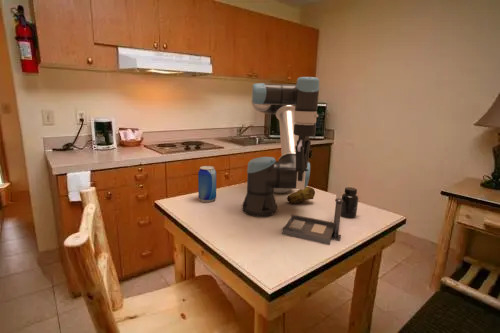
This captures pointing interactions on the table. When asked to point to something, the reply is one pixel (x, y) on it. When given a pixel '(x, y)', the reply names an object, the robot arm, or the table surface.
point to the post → (337, 220)
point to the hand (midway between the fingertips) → (300, 188)
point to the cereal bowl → (281, 190)
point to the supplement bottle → (349, 203)
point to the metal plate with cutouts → (309, 229)
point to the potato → (301, 195)
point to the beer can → (207, 184)
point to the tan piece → (338, 193)
